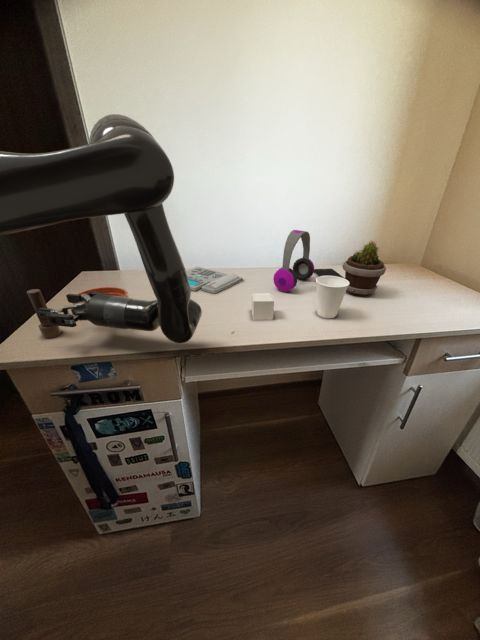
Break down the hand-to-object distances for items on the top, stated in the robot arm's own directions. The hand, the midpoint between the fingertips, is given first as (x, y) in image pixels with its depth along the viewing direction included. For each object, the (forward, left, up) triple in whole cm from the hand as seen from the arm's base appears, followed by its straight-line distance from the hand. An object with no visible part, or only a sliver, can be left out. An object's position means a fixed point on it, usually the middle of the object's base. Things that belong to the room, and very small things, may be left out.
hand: (54, 304), depth 68 cm
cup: (+73, -7, -9) cm, 74 cm away
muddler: (-4, +2, -9) cm, 10 cm away
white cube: (+53, -2, -9) cm, 54 cm away
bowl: (+7, +16, -9) cm, 20 cm away
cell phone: (+93, +24, -9) cm, 96 cm away
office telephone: (+41, +32, -9) cm, 53 cm away
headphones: (+74, +20, -9) cm, 77 cm away
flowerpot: (+95, +7, -9) cm, 96 cm away
